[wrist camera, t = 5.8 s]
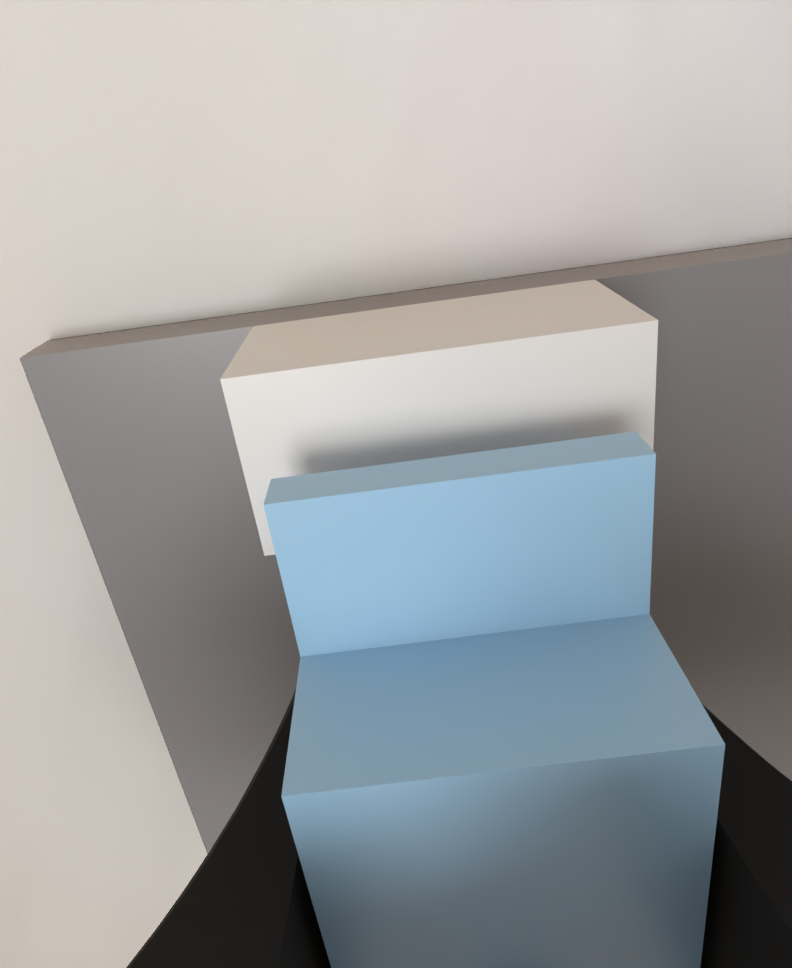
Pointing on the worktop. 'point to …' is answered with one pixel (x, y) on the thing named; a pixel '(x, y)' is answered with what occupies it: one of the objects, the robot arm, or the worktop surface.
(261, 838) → the robot arm
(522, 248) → the worktop surface
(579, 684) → the block
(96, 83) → the worktop surface
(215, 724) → the plate
